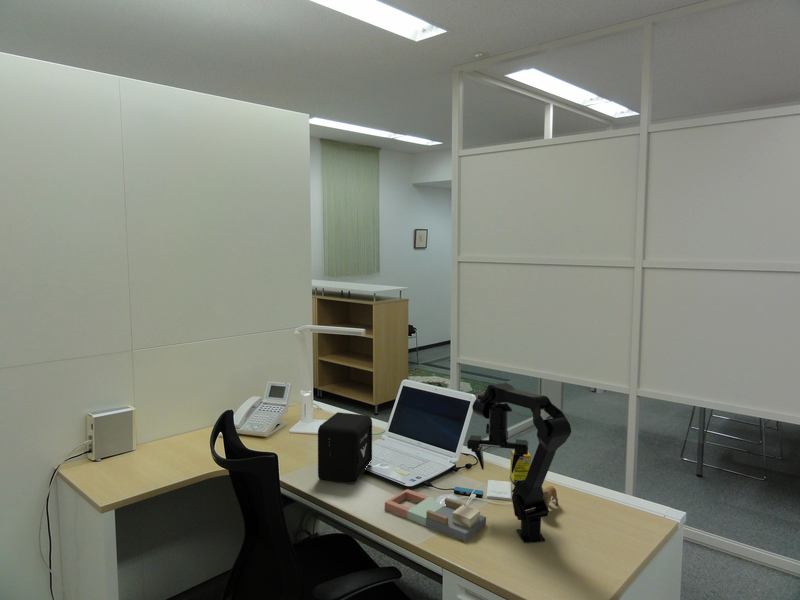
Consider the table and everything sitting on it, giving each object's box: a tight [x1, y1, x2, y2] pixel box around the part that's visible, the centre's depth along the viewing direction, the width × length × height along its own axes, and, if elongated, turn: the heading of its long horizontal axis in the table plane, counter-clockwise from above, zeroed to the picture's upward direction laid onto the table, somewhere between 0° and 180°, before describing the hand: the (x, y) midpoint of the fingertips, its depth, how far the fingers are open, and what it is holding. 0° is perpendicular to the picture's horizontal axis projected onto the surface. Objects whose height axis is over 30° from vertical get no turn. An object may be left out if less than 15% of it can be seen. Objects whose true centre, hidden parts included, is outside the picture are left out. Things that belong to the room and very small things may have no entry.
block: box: [452, 505, 481, 529], centre depth 158 cm, size 6×6×3 cm
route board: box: [384, 488, 487, 543], centre depth 165 cm, size 30×12×4 cm, turn 53°
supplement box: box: [509, 449, 532, 485], centre depth 191 cm, size 6×6×11 cm
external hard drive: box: [486, 479, 512, 502], centre depth 183 cm, size 2×8×12 cm
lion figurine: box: [542, 485, 559, 516], centre depth 170 cm, size 15×5×9 cm, turn 151°
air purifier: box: [317, 411, 373, 484], centre depth 196 cm, size 20×15×20 cm
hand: (497, 470), depth 168 cm, fingers open, 9 cm apart
